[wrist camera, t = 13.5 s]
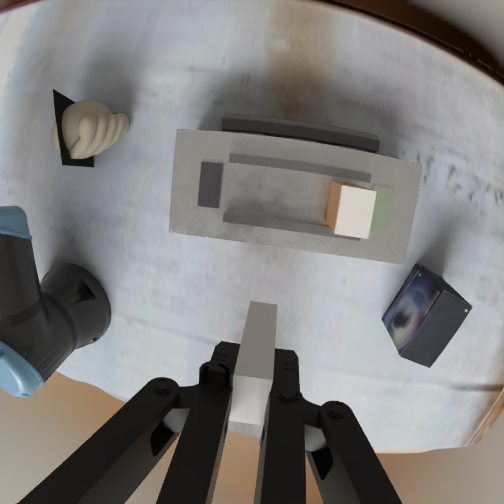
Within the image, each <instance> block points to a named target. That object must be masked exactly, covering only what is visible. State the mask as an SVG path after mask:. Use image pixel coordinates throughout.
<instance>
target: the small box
mask: <svg viewBox="0 0 504 504" xmlns="http://www.w3.org/2000/svg"><path fill="white" fill-rule="evenodd" d="M471 309H472V306H471V305H470V304H469V303H468V302H467V301H466V300H465V299H464V298H463V297H462V296H461V295H460V294H458V293H457V292H456V291H455V290H454V289H453V288H452V287H451V286H450V285H449V284H448V283H447V282H445V281H444V279H443V278H441V277H440V276H437V275H436V274H434V273H433V272H431V271H429V270H427V269H425V267H422V266H420V265H418V264H415V266H414V267H413V269H412V271H411V273H410V274H409V276H408V278H407V279H406V281H405V283H404V284H403V286H402V288H401V289H400V291H399V293H398V294H397V296H396V297H395V299H394V301H393V302H392V304H391V305H390V307H389V308H388V310H387V311H386V313H385V314H384V316H383V317H382V321H383V323H384V325H385V327H386V329H387V331H388V333H389V334H390V336H391V338H392V340H393V342H394V344H395V346H396V348H397V350H398V353H399V355H400V356H401V357H403V358H405V359H408V360H410V361H413V362H415V363H418V364H421V365H423V366H426V367H429V368H430V367H431V366H432V364H433V363H434V362H435V361H436V359H437V358H438V357H439V355H440V354H441V353H442V351H443V350H444V348H445V347H446V346H447V344H448V343H449V342H450V340H451V339H452V337H453V336H454V334H455V333H456V331H457V330H458V329H459V327H460V326H461V324H462V323H463V321H464V320H465V318H466V316H467V315H468V313H469V312H470V310H471Z"/></svg>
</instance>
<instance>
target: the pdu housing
mask: <svg viewBox="0 0 504 504" xmlns="http://www.w3.org/2000/svg"><path fill="white" fill-rule="evenodd" d="M365 151H366V150H364V149H359V148H354V147H349V146H343V145H340V146H333V145H327V144H321V143H316V141H314V140H308V139H301V138H294V137H290V138H289V139H287V138H280V137H272V136H265V135H264V134H262V133H253V132H242V131H238V133H233V132H220V131H206V130H188V129H177V134H176V144H175V154H174V165H173V177H172V190H171V205H170V223H169V232H171V233H179V234H186V235H194V236H201V237H209V238H217V239H224V240H232V241H239V242H246V243H254V244H261V245H268V246H276V247H283V248H290V249H298V250H305V251H312V252H319V253H326V254H333V255H340V256H347V257H355V258H362V259H369V260H375V261H382V262H389V263H396V264H403V262H404V258H405V254H406V250H407V246H408V241H409V237H410V232H411V227H412V223H413V218H414V212H415V207H416V202H417V196H418V190H419V184H420V177H421V170H422V165H420V164H417V163H413V162H409V161H405V160H400V159H396V158H392V157H388V156H383V155H379V154H374V153H369V152H365ZM331 180H332V181H338V182H344V183H349V184H355V185H360V186H363V187H365V188H368V189H371V190H374V191H376V198H375V204H374V210H373V215H372V221H371V226H370V231H369V236H368V239H364V238H358V237H351V236H345V235H338V234H334V232H333V231H332V229H331V228H330V227H329V225H328V224H327V222H326V221H325V218H326V212H327V206H328V199H329V192H330V186H331Z"/></svg>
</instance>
